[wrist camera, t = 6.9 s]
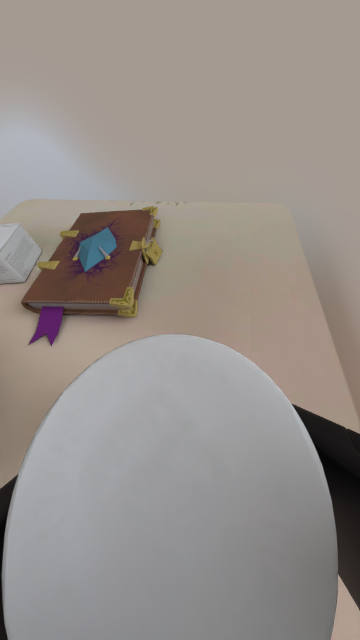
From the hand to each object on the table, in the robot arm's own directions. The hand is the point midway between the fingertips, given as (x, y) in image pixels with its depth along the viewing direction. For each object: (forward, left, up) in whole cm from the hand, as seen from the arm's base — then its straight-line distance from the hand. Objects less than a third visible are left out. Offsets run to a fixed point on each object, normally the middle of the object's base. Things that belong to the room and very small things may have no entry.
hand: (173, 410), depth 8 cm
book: (+21, +9, -11) cm, 26 cm away
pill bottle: (-1, 0, -7) cm, 7 cm away
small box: (+25, +25, -11) cm, 38 cm away
